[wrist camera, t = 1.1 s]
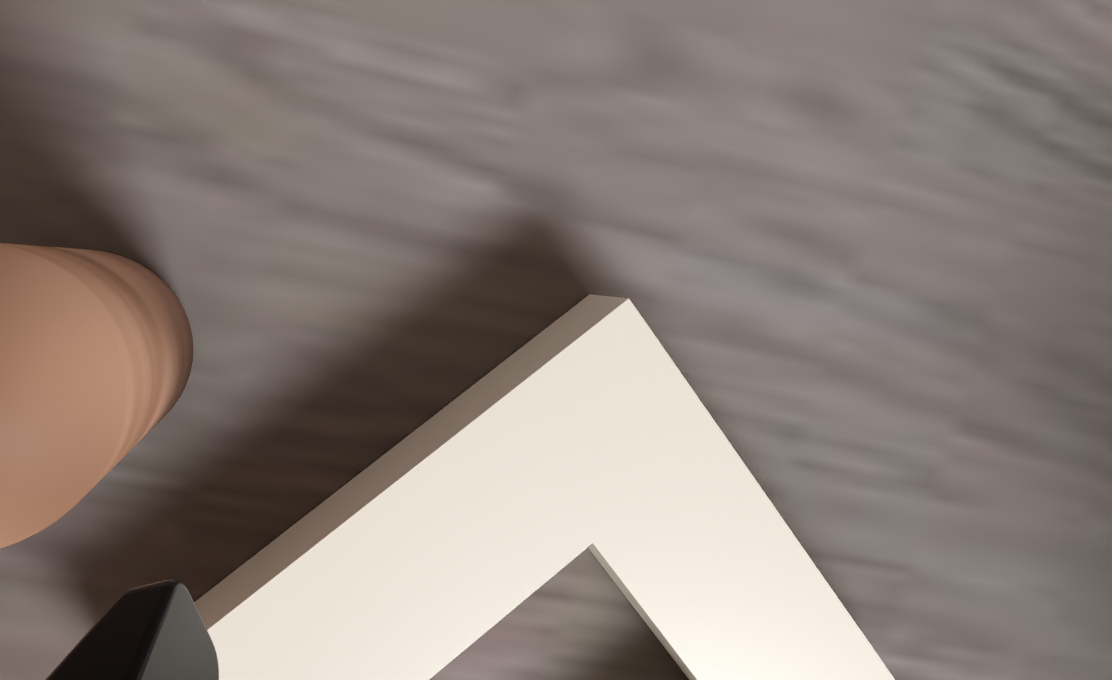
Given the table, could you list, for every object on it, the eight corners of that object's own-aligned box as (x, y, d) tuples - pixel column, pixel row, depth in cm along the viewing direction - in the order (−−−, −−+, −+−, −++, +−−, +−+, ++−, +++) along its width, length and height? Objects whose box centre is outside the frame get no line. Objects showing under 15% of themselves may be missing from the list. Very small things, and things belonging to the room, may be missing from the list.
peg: (70, 486, 20) (-79, 620, 13) (-73, 331, 19) (-328, 372, 12) (234, 366, 21) (187, 422, 13) (104, 209, 20) (-27, 174, 12)
